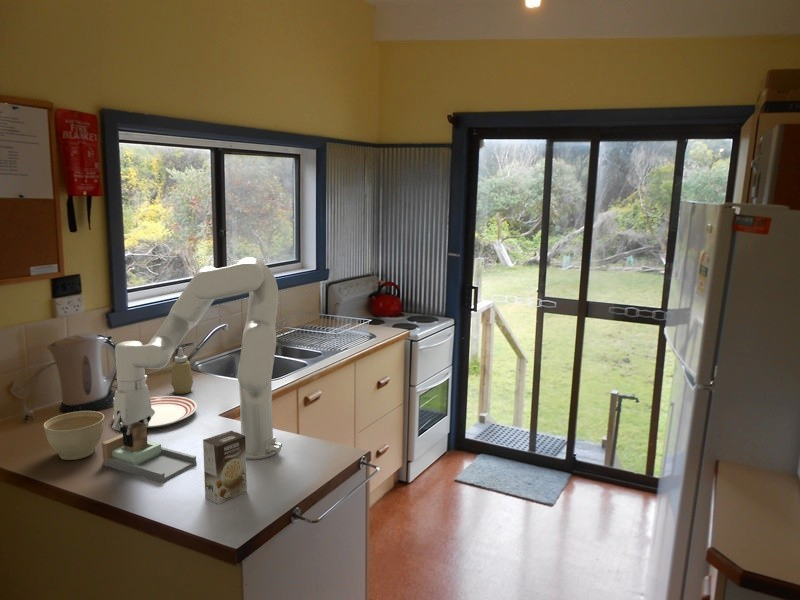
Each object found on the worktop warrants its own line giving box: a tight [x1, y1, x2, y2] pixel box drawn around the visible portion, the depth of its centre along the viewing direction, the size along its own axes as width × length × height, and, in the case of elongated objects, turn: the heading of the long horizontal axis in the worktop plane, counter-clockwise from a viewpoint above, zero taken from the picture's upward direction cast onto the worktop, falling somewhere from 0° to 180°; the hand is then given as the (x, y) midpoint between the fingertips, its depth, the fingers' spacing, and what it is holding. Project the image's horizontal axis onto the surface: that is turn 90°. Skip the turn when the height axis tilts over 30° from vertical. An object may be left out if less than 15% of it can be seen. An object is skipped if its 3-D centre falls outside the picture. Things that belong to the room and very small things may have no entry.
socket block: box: [112, 439, 162, 465], centre depth 182 cm, size 9×10×3 cm
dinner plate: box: [112, 395, 198, 429], centre depth 216 cm, size 27×27×3 cm
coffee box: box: [202, 430, 248, 505], centre depth 162 cm, size 9×6×16 cm
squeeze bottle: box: [170, 347, 194, 395], centre depth 241 cm, size 8×8×18 cm
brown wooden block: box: [124, 422, 148, 452], centre depth 181 cm, size 4×4×7 cm
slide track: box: [101, 433, 197, 484], centre depth 180 cm, size 24×13×7 cm, turn 64°
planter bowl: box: [43, 410, 105, 461], centre depth 186 cm, size 16×16×11 cm
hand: (135, 442), depth 181 cm, fingers closed on brown wooden block, 4 cm apart
